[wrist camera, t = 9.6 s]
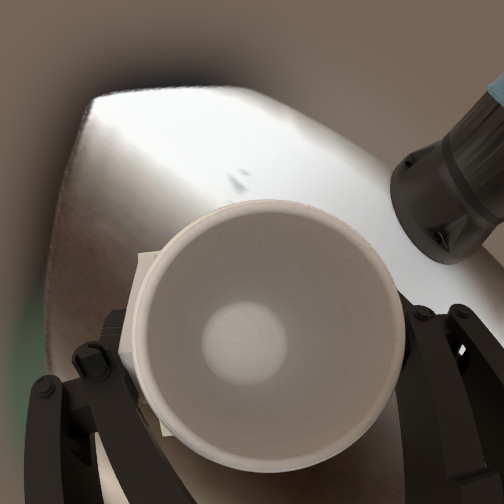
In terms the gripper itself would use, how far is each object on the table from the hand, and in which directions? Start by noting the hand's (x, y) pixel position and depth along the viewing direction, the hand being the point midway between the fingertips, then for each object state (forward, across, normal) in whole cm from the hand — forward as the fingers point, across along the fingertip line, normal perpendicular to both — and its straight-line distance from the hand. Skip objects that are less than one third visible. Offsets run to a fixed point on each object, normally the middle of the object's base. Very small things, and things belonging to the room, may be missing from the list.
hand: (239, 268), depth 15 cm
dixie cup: (0, 0, -5) cm, 5 cm away
